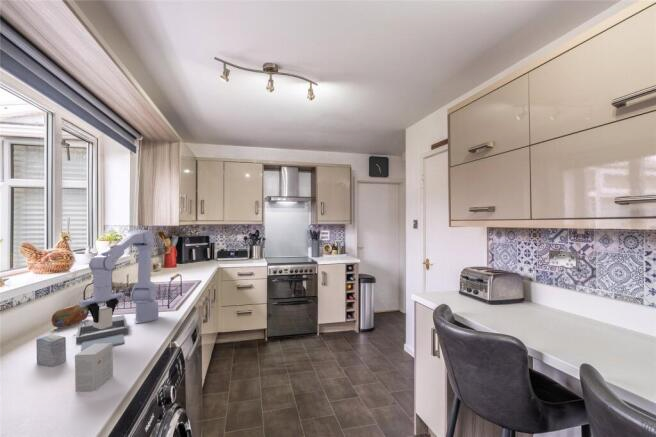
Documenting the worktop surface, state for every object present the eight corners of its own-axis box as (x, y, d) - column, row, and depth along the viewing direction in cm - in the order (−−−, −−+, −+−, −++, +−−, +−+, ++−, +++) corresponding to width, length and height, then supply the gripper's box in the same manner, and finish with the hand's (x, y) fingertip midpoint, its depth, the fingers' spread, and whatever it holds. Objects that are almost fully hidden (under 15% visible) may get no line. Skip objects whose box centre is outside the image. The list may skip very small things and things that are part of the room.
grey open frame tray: (124, 317, 147) (123, 311, 147) (127, 333, 125) (127, 326, 125) (80, 324, 136) (80, 318, 136) (76, 343, 115) (76, 336, 115)
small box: (94, 377, 90) (94, 343, 90) (113, 376, 91) (113, 342, 91) (74, 392, 82) (73, 355, 82) (95, 391, 83) (95, 354, 83)
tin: (55, 330, 130) (55, 311, 130) (49, 330, 130) (49, 311, 130) (89, 319, 144) (89, 302, 144) (84, 318, 145) (84, 301, 145)
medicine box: (66, 361, 100) (66, 336, 101) (50, 367, 96) (50, 341, 96) (52, 358, 103) (51, 333, 103) (36, 364, 99) (35, 338, 99)
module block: (104, 323, 118) (104, 305, 118) (112, 325, 115) (112, 307, 115) (92, 326, 115) (92, 308, 115) (100, 329, 112) (100, 310, 112)
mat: (122, 335, 123) (122, 333, 123) (124, 343, 115) (123, 342, 115) (82, 343, 115) (82, 341, 115) (80, 353, 107) (80, 351, 107)
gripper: (117, 281, 123) (118, 313, 123) (75, 288, 111) (75, 324, 111) (126, 283, 120) (127, 316, 120) (83, 290, 107) (84, 327, 107)
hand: (102, 320), depth 115 cm, fingers closed on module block, 4 cm apart
